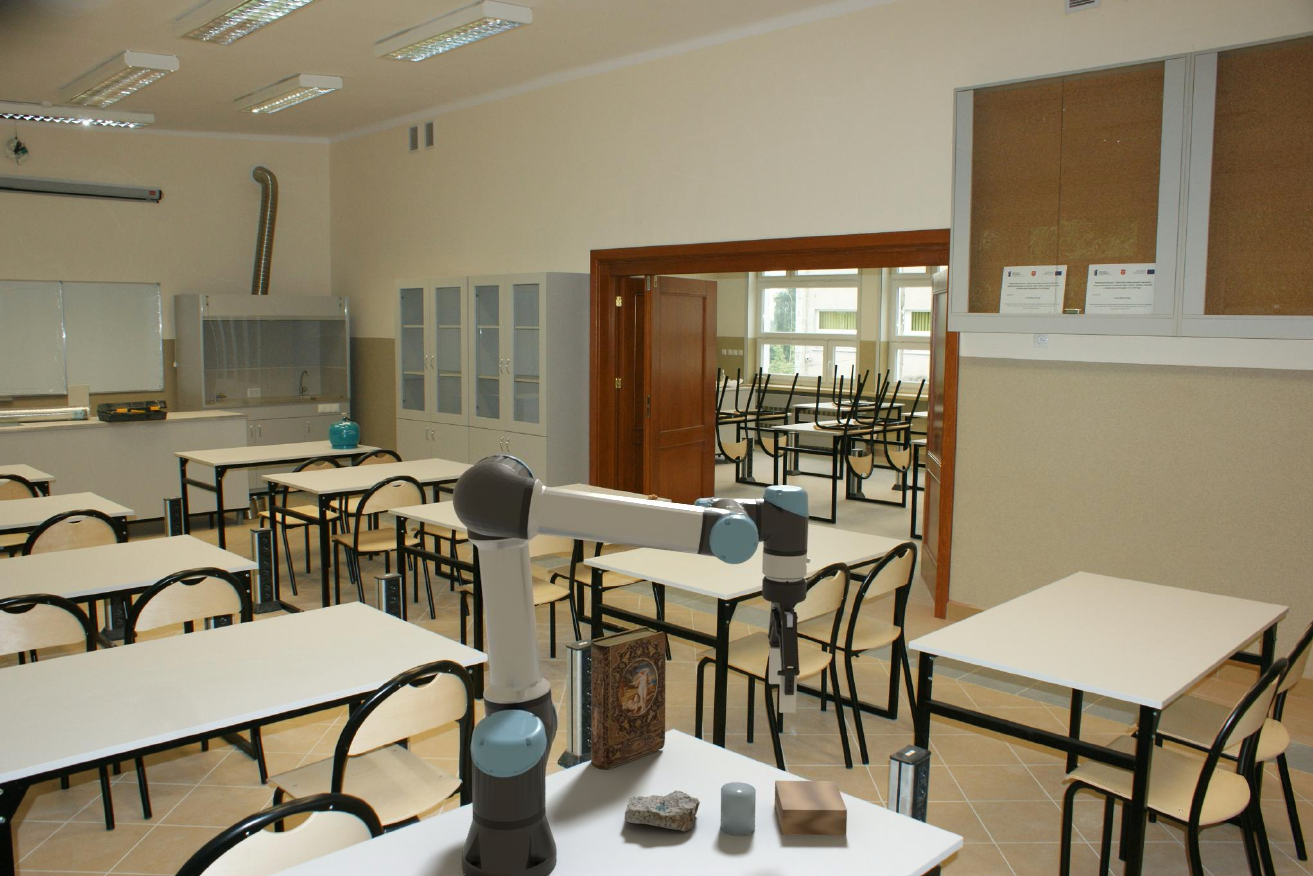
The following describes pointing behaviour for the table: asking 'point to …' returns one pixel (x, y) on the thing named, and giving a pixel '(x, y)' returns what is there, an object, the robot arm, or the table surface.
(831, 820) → the walnut block
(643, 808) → the rock
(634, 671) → the book
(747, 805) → the grey rounded cylinder
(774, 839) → the table surface
